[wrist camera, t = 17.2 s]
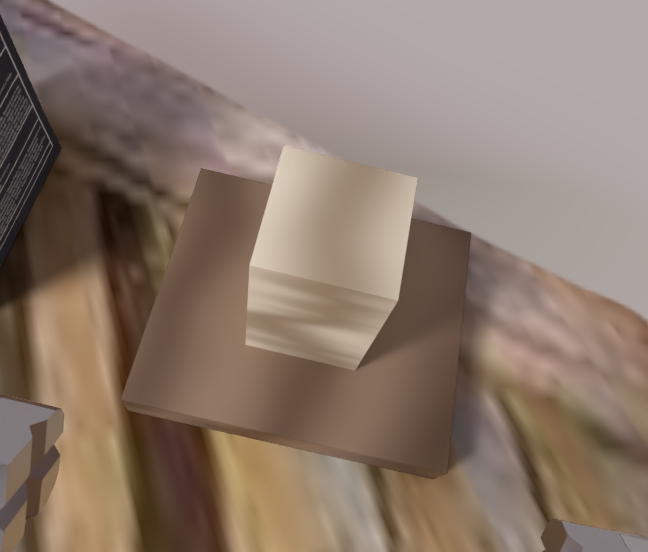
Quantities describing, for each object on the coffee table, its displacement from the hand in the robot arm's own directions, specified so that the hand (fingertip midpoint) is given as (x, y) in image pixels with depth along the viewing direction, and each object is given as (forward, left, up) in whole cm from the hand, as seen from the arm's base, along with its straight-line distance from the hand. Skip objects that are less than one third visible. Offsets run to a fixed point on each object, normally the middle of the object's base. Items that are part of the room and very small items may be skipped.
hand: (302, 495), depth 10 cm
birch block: (0, +10, -15) cm, 18 cm away
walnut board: (0, +10, -17) cm, 20 cm away
